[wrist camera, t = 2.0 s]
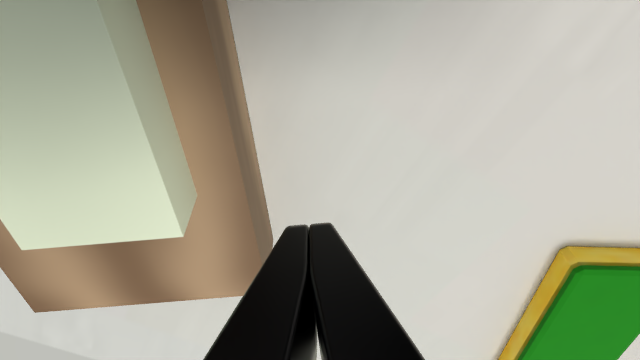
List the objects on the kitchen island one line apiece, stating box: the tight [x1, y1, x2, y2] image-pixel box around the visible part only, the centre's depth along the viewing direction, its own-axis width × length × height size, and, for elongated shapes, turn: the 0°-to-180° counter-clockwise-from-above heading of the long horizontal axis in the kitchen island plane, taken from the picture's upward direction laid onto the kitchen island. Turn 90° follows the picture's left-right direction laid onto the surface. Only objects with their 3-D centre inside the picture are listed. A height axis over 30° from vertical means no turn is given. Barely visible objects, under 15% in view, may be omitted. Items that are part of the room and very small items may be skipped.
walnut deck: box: [0, 0, 273, 313], centre depth 16 cm, size 12×22×4 cm, turn 4°
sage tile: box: [0, 0, 197, 250], centre depth 14 cm, size 6×9×2 cm, turn 4°
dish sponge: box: [498, 246, 640, 360], centre depth 29 cm, size 7×14×2 cm, turn 176°
